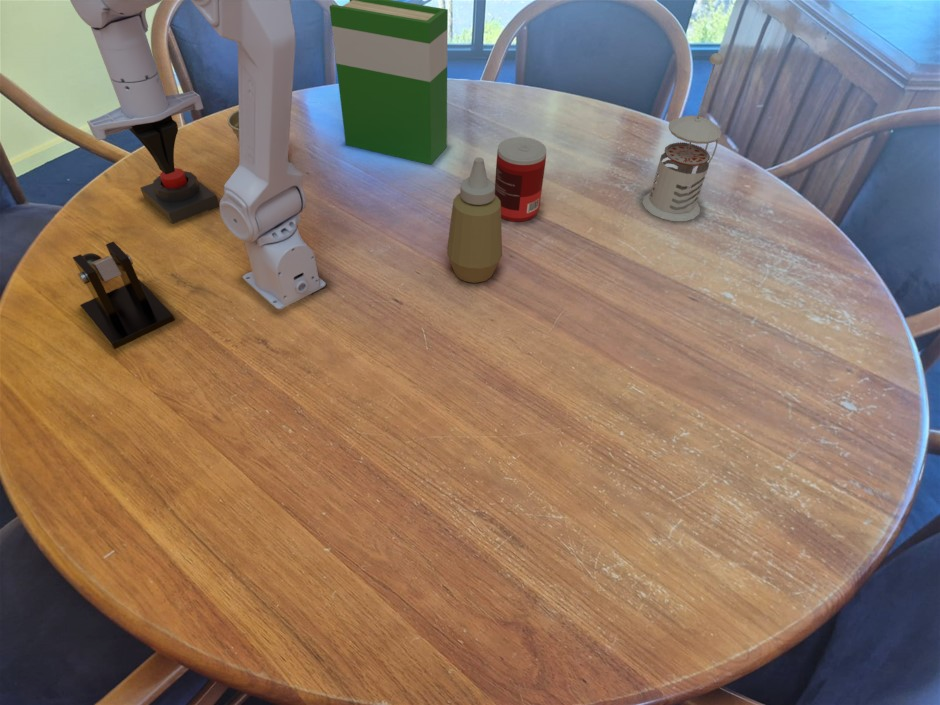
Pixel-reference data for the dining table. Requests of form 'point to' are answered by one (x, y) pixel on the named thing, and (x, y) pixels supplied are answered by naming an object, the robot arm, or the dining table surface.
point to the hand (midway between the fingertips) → (167, 170)
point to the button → (174, 179)
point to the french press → (683, 166)
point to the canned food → (519, 177)
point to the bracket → (121, 302)
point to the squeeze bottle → (475, 227)
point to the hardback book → (392, 76)
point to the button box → (180, 198)
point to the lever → (103, 266)
